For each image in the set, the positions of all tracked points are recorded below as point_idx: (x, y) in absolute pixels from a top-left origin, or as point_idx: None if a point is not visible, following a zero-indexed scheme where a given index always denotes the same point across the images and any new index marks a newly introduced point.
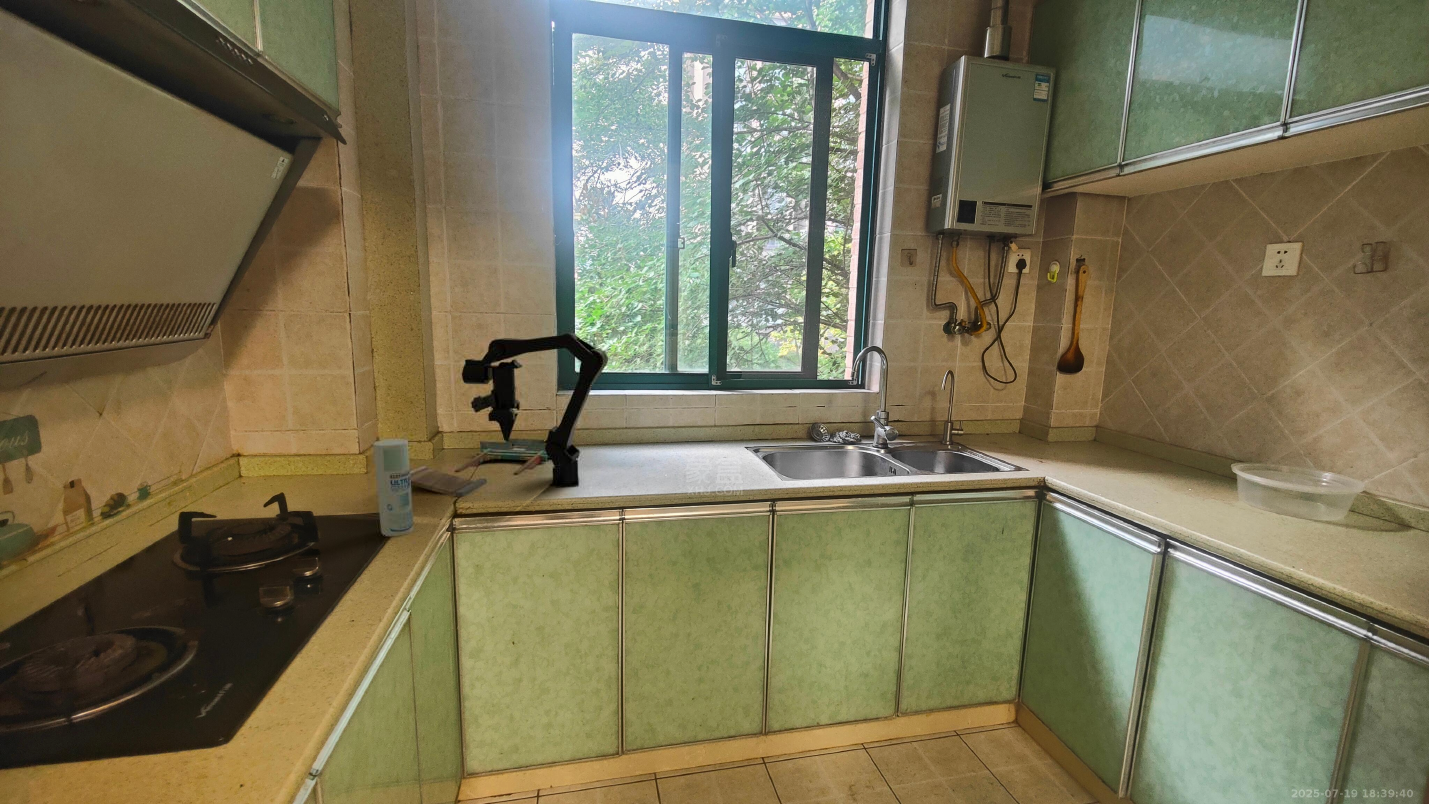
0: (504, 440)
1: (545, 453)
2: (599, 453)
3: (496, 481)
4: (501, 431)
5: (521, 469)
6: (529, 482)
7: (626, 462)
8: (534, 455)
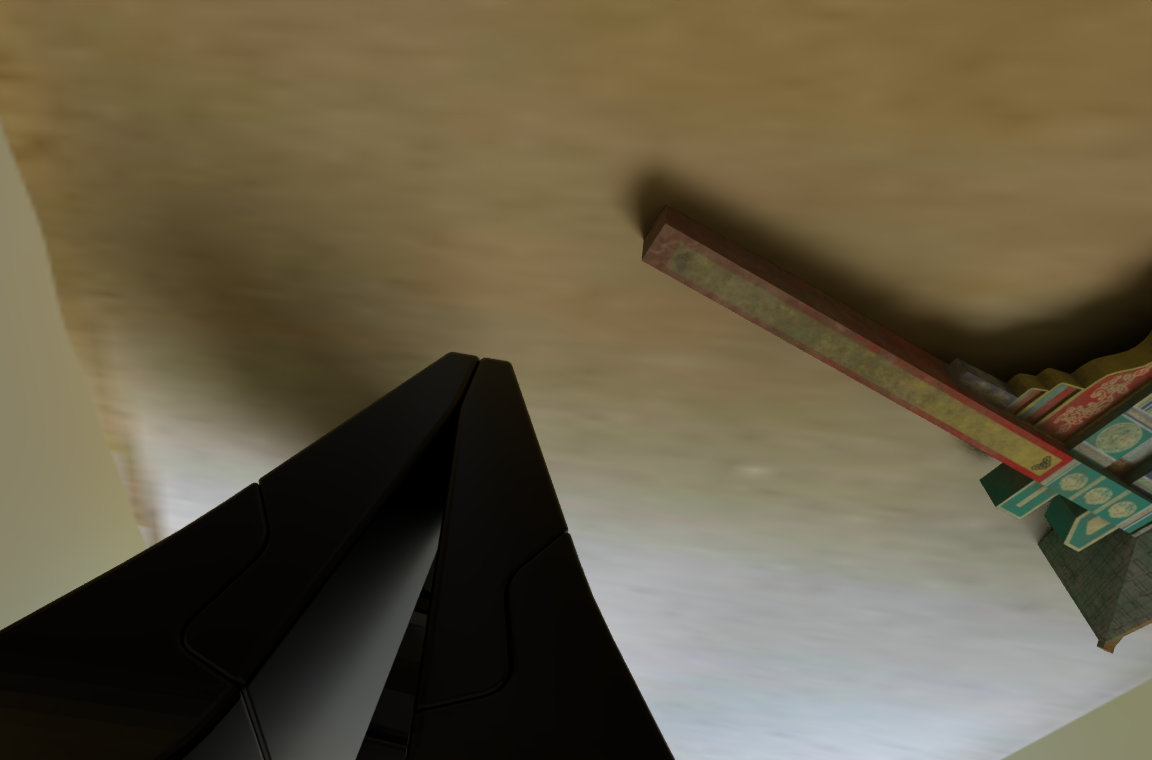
0: (452, 353)
1: (1075, 518)
2: (978, 698)
3: (625, 28)
4: (302, 453)
5: (726, 297)
6: (500, 304)
7: (716, 729)
8: (1094, 445)
